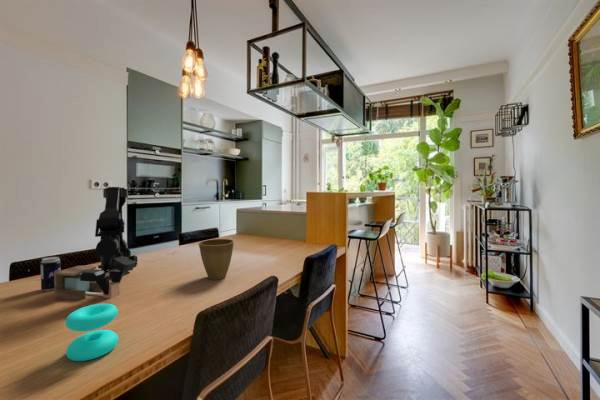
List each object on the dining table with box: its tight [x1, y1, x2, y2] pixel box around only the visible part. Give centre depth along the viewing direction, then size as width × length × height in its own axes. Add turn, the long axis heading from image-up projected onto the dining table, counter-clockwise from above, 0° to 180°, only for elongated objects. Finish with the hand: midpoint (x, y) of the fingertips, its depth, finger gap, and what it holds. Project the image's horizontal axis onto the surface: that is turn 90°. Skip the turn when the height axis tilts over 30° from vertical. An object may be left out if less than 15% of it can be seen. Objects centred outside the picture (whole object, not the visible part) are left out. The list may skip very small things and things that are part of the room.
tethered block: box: [65, 273, 120, 299], centre depth 100 cm, size 5×18×6 cm, turn 81°
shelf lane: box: [53, 265, 103, 300], centre depth 100 cm, size 9×12×9 cm
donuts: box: [65, 303, 119, 362], centre depth 65 cm, size 10×10×10 cm
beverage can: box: [40, 256, 62, 292], centre depth 105 cm, size 6×6×12 cm
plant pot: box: [198, 238, 235, 281], centre depth 121 cm, size 15×15×16 cm
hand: (111, 292), depth 99 cm, fingers closed on tethered block, 3 cm apart
